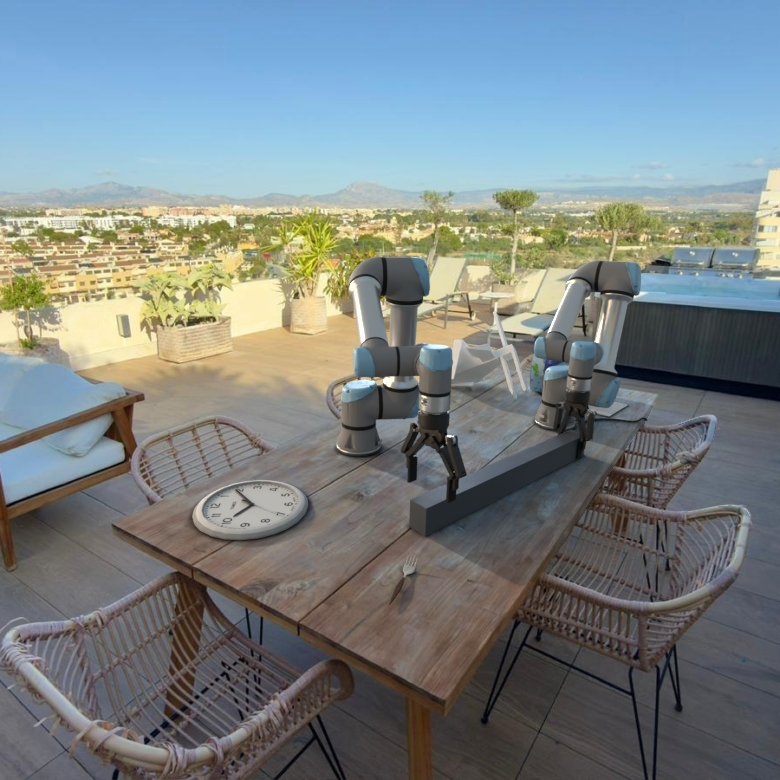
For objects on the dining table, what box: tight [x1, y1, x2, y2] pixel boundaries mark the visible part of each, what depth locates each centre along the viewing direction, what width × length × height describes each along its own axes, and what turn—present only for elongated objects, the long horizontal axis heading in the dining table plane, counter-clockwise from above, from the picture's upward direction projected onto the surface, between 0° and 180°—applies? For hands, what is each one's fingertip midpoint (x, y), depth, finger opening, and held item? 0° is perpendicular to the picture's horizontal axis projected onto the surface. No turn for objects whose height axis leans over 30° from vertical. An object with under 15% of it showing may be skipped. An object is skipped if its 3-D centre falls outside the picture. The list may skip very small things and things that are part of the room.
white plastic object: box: [451, 310, 531, 400], centre depth 245 cm, size 37×45×31 cm
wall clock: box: [191, 479, 309, 541], centre depth 140 cm, size 30×2×30 cm
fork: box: [388, 554, 419, 606], centre depth 112 cm, size 3×16×2 cm, turn 160°
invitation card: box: [588, 401, 629, 418], centre depth 226 cm, size 21×1×15 cm
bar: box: [408, 429, 585, 537], centre depth 154 cm, size 76×6×8 cm, turn 131°
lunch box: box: [529, 354, 569, 394], centre depth 245 cm, size 26×11×21 cm, turn 134°
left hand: (430, 490), depth 131 cm, fingers open, 13 cm apart
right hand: (569, 454), depth 176 cm, fingers closed on bar, 6 cm apart
